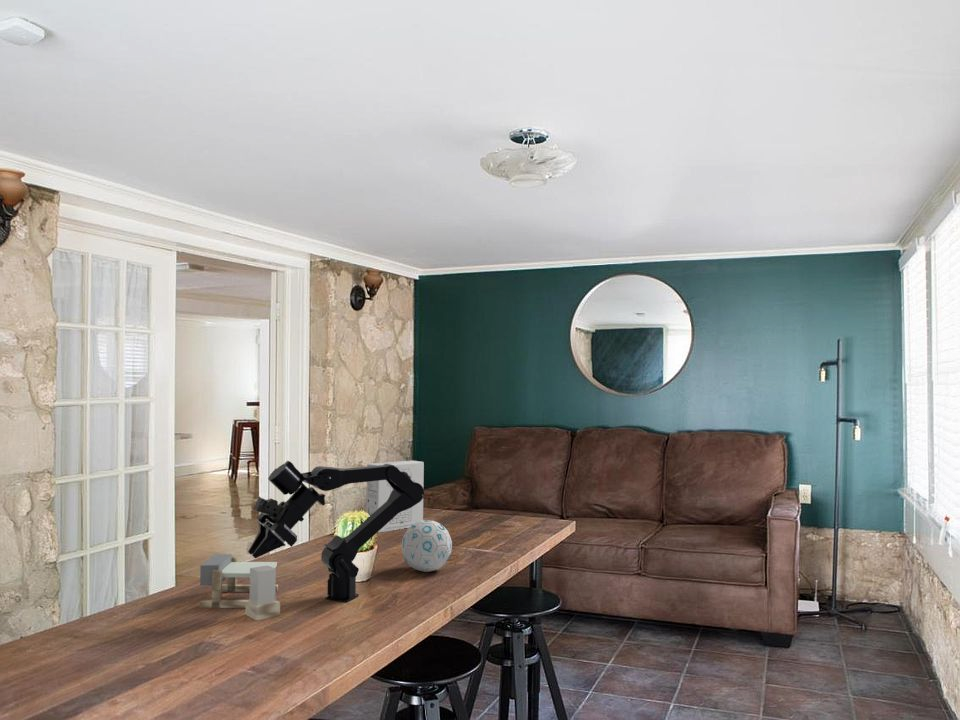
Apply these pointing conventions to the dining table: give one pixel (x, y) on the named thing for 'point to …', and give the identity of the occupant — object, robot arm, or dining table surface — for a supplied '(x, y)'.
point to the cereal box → (382, 490)
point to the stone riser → (262, 610)
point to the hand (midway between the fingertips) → (251, 555)
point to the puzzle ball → (426, 545)
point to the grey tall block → (262, 585)
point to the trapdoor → (227, 568)
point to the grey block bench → (219, 588)
